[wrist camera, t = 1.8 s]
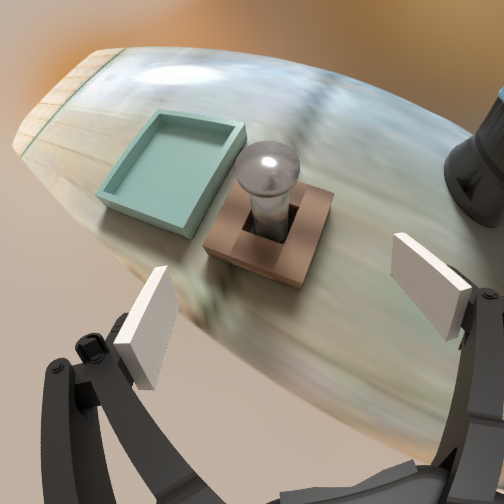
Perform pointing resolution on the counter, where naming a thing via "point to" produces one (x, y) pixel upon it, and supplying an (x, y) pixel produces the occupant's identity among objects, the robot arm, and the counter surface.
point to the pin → (268, 185)
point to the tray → (173, 169)
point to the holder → (264, 250)
